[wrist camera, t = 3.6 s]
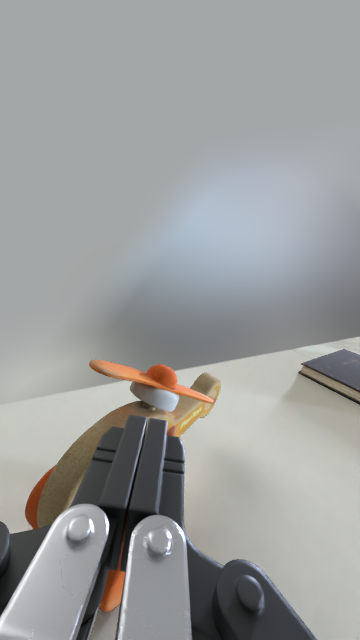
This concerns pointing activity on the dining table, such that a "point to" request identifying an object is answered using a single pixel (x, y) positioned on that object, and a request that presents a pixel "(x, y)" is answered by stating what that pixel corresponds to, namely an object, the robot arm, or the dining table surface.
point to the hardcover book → (336, 373)
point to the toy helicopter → (157, 402)
